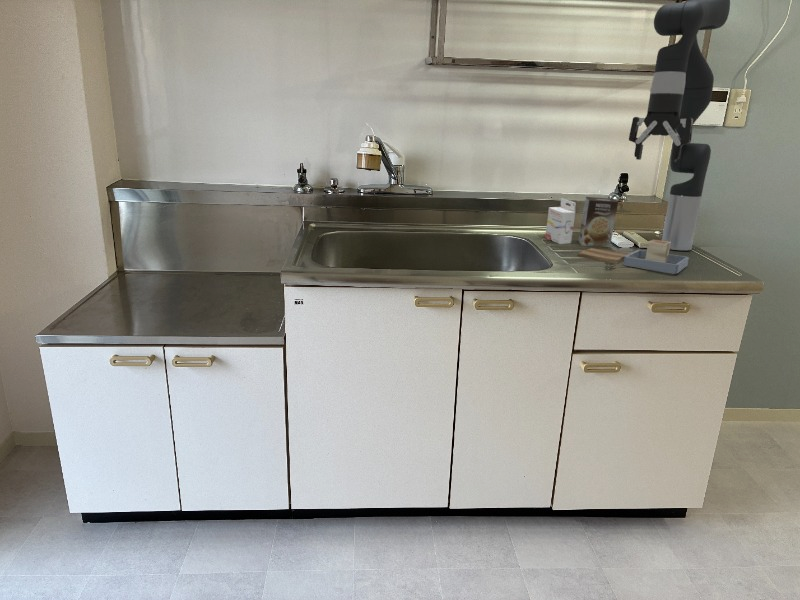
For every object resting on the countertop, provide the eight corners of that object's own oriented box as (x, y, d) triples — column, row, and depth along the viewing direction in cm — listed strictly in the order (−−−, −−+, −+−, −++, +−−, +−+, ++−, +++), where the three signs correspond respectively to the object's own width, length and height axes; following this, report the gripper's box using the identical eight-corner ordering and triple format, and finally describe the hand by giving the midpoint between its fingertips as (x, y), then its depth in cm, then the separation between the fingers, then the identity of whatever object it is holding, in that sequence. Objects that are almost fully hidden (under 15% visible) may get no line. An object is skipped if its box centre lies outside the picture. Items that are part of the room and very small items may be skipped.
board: (590, 251, 183) (591, 247, 183) (629, 257, 177) (629, 253, 176) (577, 257, 174) (577, 253, 174) (616, 263, 167) (617, 259, 167)
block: (648, 262, 171) (652, 239, 169) (666, 265, 168) (670, 241, 166) (644, 265, 167) (648, 241, 165) (662, 268, 164) (666, 243, 162)
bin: (636, 257, 177) (638, 249, 177) (687, 265, 169) (689, 257, 168) (622, 265, 166) (623, 256, 165) (676, 274, 158) (678, 265, 157)
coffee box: (581, 248, 187) (588, 199, 181) (577, 244, 193) (584, 196, 187) (610, 250, 186) (618, 201, 181) (605, 245, 192) (613, 197, 187)
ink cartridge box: (543, 241, 196) (549, 198, 190) (555, 240, 197) (561, 197, 192) (558, 247, 188) (564, 202, 183) (571, 246, 190) (577, 202, 185)
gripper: (701, 93, 139) (689, 162, 144) (640, 93, 147) (631, 158, 152) (695, 91, 134) (683, 162, 138) (632, 91, 142) (622, 159, 146)
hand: (655, 160), depth 145 cm, fingers open, 8 cm apart
